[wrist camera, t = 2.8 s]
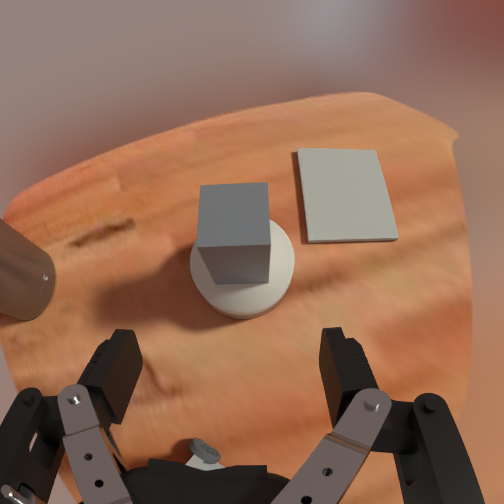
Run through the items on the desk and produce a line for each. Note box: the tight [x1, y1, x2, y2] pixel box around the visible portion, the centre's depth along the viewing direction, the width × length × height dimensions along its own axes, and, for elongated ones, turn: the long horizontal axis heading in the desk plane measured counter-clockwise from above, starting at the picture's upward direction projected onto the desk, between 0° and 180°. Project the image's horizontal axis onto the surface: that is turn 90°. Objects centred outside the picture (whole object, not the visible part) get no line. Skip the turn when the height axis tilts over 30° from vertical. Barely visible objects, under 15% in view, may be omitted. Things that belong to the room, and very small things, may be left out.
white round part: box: [190, 220, 294, 319], centre depth 28 cm, size 9×9×4 cm
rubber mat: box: [297, 148, 399, 243], centre depth 33 cm, size 10×12×1 cm
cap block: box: [197, 183, 271, 285], centre depth 23 cm, size 4×4×8 cm
